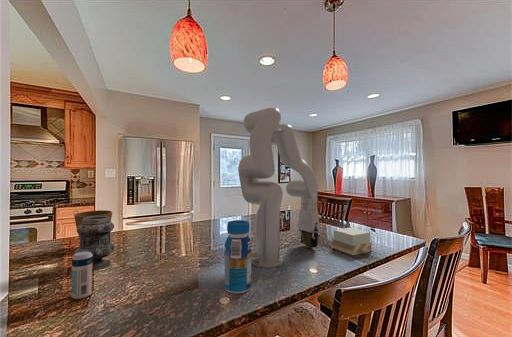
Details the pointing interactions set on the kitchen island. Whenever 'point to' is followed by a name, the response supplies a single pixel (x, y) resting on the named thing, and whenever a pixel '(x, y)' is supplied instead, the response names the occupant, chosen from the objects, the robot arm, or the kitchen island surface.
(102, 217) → the dark grey carved vase
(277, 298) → the kitchen island surface
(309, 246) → the dark brown tapered piece
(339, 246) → the box
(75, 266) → the white pill bottle
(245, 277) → the beverage bottle
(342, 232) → the tower top
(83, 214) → the plant pot
